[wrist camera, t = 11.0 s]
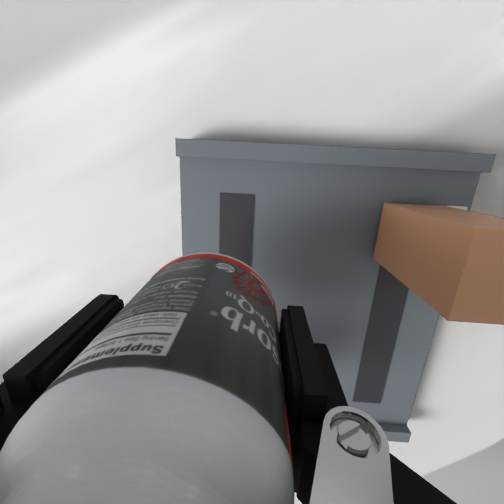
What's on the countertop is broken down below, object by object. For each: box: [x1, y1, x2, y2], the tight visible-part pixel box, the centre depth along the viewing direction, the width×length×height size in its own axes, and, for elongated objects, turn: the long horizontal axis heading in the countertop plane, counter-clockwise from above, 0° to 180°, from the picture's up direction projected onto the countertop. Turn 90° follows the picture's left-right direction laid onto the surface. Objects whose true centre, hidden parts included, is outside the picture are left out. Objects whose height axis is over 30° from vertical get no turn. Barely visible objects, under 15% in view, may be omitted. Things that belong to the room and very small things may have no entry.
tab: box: [373, 203, 504, 325], centre depth 11 cm, size 3×3×6 cm
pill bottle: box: [0, 252, 294, 504], centre depth 7 cm, size 6×6×10 cm
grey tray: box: [175, 138, 496, 442], centre depth 16 cm, size 18×15×2 cm
